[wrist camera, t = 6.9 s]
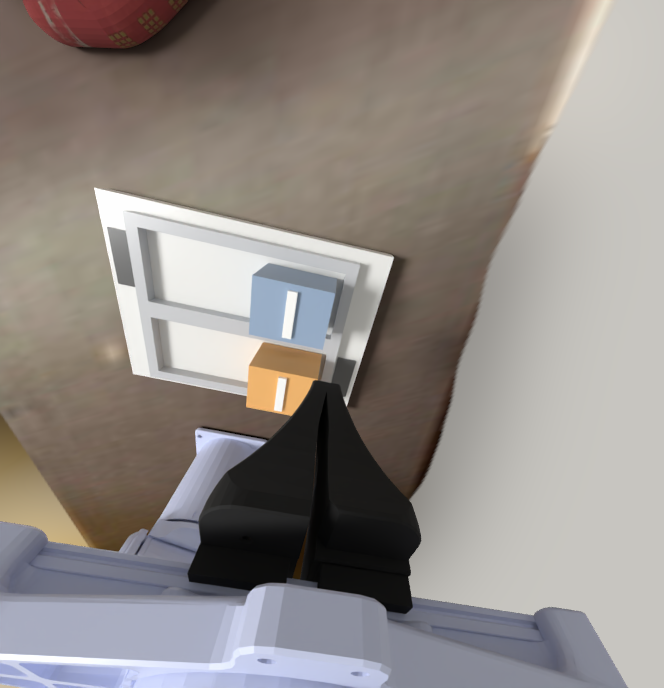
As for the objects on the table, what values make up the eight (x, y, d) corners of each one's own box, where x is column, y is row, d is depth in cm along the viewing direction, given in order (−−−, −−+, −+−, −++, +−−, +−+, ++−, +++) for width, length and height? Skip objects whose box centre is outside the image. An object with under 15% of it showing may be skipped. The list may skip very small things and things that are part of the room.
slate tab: (326, 327, 20) (322, 351, 17) (263, 314, 20) (247, 335, 17) (337, 278, 18) (335, 294, 15) (268, 262, 18) (251, 275, 15)
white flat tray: (344, 406, 26) (344, 420, 24) (142, 366, 25) (126, 379, 23) (391, 254, 19) (395, 259, 17) (109, 188, 17) (83, 187, 16)
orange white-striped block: (313, 390, 23) (308, 420, 20) (259, 380, 23) (245, 408, 20) (322, 354, 21) (317, 381, 18) (263, 342, 21) (247, 367, 18)
